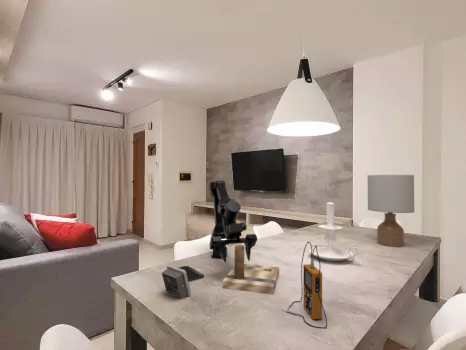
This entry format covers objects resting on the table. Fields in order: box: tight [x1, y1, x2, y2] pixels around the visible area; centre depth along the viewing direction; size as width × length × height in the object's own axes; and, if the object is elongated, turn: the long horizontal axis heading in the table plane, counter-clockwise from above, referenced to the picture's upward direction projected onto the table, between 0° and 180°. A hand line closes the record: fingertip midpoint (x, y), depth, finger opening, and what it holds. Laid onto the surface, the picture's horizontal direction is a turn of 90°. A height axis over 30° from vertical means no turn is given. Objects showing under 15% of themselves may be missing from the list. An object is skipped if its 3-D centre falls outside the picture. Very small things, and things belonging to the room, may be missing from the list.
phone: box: [178, 265, 205, 283], centre depth 103 cm, size 8×1×15 cm
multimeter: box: [281, 241, 328, 329], centre depth 73 cm, size 15×10×20 cm
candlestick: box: [308, 201, 359, 262], centre depth 123 cm, size 21×25×28 cm
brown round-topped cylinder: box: [234, 244, 245, 279], centre depth 93 cm, size 4×4×14 cm
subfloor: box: [222, 263, 280, 295], centre depth 97 cm, size 18×20×2 cm
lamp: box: [367, 174, 415, 248], centre depth 154 cm, size 24×24×42 cm
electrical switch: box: [161, 264, 192, 300], centre depth 84 cm, size 9×5×9 cm, turn 51°
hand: (237, 261), depth 95 cm, fingers open, 9 cm apart
